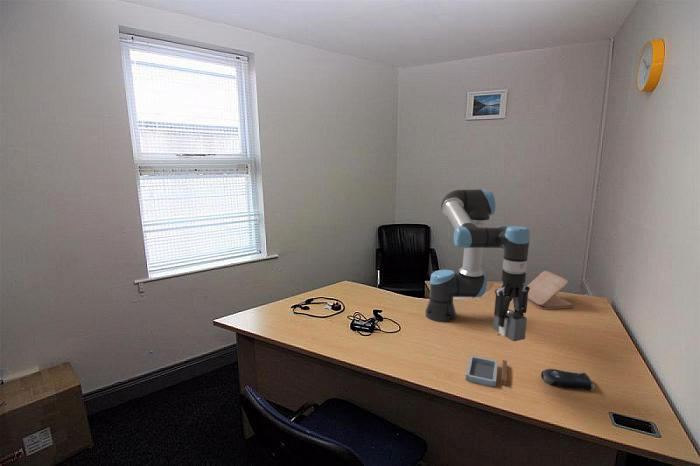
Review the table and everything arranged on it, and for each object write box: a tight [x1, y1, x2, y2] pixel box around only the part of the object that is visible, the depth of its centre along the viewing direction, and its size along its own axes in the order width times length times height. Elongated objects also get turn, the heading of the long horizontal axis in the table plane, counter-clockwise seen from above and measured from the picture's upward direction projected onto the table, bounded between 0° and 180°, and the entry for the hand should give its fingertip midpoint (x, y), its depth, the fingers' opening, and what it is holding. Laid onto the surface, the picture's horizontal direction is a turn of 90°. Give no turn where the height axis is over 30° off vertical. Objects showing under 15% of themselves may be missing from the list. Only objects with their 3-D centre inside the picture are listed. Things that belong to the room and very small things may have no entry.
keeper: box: [465, 355, 499, 387], centre depth 134 cm, size 10×15×2 cm, turn 156°
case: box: [527, 270, 575, 310], centre depth 201 cm, size 20×21×16 cm
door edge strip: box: [500, 360, 508, 386], centre depth 133 cm, size 2×14×2 cm, turn 156°
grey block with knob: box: [492, 308, 528, 342], centre depth 129 cm, size 10×5×9 cm, turn 20°
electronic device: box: [540, 368, 595, 392], centre depth 128 cm, size 9×6×15 cm
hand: (508, 333), depth 130 cm, fingers closed on grey block with knob, 5 cm apart
